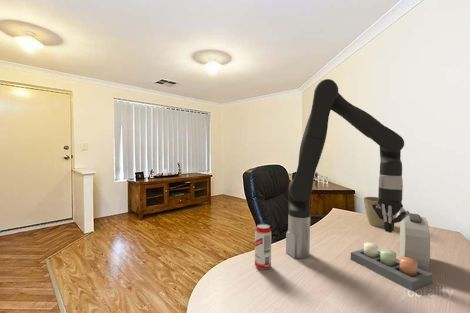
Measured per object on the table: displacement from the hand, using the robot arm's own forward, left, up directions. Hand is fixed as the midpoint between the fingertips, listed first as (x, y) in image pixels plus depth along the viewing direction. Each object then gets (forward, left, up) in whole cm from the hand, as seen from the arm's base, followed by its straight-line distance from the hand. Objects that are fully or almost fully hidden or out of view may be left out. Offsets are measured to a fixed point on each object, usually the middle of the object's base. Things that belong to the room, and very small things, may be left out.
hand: (389, 231), depth 87 cm
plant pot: (+47, +36, -15) cm, 61 cm away
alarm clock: (+16, 0, -15) cm, 22 cm away
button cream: (0, +7, -12) cm, 14 cm away
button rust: (0, -7, -12) cm, 14 cm away
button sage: (0, 0, -12) cm, 12 cm away
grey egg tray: (0, 0, -15) cm, 15 cm away
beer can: (-43, +21, -15) cm, 50 cm away
